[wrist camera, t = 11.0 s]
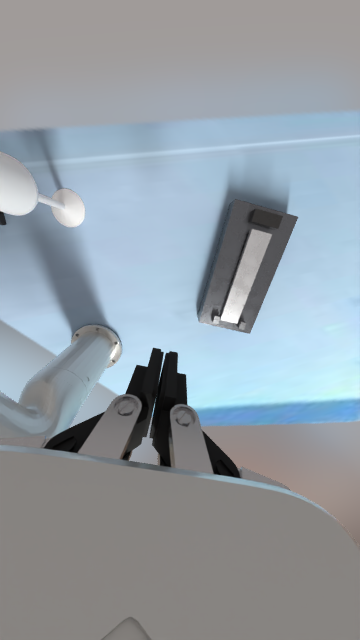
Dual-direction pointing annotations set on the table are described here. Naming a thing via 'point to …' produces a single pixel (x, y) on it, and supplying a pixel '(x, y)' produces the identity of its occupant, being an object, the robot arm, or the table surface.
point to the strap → (245, 275)
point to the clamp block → (228, 257)
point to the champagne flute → (34, 194)
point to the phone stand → (2, 219)
